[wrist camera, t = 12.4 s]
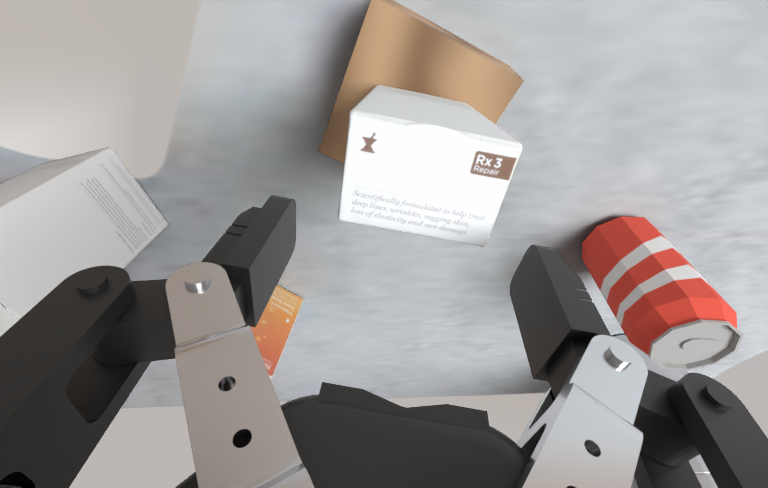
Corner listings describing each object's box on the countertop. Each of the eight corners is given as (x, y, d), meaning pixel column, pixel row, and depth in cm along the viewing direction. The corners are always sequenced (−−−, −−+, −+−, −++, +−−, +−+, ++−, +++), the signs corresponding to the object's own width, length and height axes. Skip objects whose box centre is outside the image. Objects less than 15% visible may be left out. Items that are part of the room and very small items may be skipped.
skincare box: (366, 149, 24) (327, 229, 13) (377, 78, 21) (339, 107, 11) (454, 166, 24) (484, 259, 13) (473, 97, 22) (528, 144, 11)
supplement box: (37, 162, 33) (-180, 264, 21) (113, 144, 31) (-79, 245, 19) (103, 238, 38) (-41, 354, 26) (172, 226, 36) (49, 345, 24)
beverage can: (636, 266, 34) (719, 377, 24) (569, 263, 34) (624, 370, 25) (666, 214, 30) (778, 320, 21) (591, 211, 31) (666, 313, 21)
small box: (305, 297, 41) (275, 378, 33) (284, 320, 44) (251, 399, 36) (243, 263, 39) (193, 341, 30) (225, 290, 42) (175, 368, 33)
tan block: (507, 64, 25) (523, 80, 21) (437, 177, 31) (439, 206, 27) (381, -7, 23) (372, -5, 19) (332, 127, 29) (318, 151, 25)
